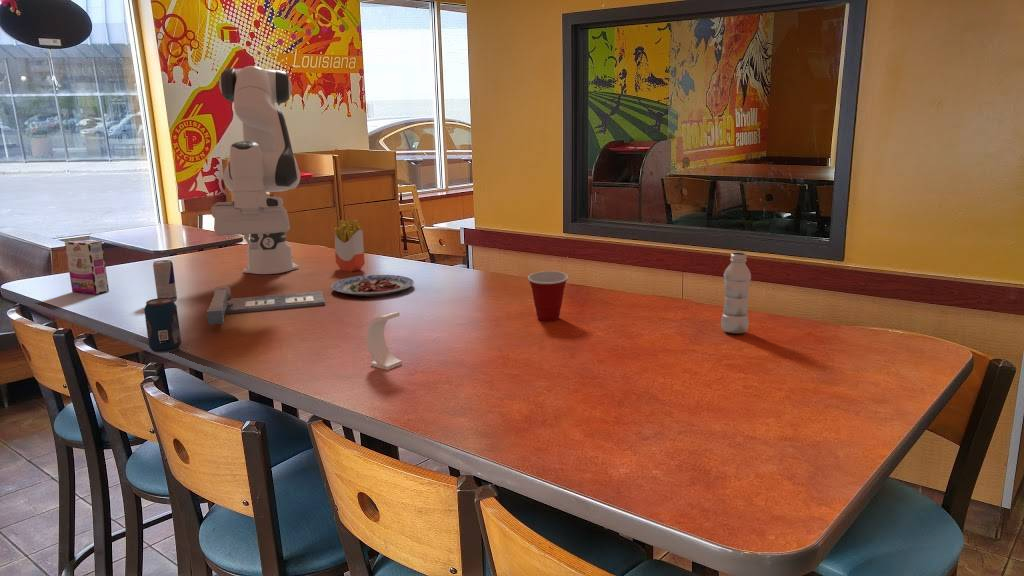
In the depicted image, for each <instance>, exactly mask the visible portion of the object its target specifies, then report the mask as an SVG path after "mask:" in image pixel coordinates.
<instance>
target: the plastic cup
mask: <svg viewBox="0 0 1024 576" xmlns="http://www.w3.org/2000/svg"><path fill="white" fill-rule="evenodd" d="M568 278H569V274H567V273H565V272H562V271H556V270H545V271H544V270H543V271H537V272H533V273H530V274H529V275H528V276H527V279H528V281H529V284H530V287H531V290H532V296H533V302H534V307H535V314H536V316H537V319H538V320H539V321H543V322H554V321H557V320H559V319H560V315H561V309H562V303H563V298H564V292H565V288H566V287H565V286H566V284H567V280H568Z"/></svg>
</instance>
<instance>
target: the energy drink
mask: <svg viewBox="0 0 1024 576" xmlns="http://www.w3.org/2000/svg"><path fill="white" fill-rule="evenodd" d="M172 261H173V260H171V259H161V260H156V261H153V264H152V267H153V268H152V269H153V274H154V283H155V291H156V299H157V298H172V299H173V302H175V301H176V300H177V299H178V296H177V295H178V294H177V287H176V280H175V278H176V277H175V272H174V271H175V270H174V263H173V262H172Z"/></svg>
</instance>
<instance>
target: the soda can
mask: <svg viewBox="0 0 1024 576" xmlns="http://www.w3.org/2000/svg"><path fill="white" fill-rule="evenodd" d="M177 307H178V306H177V304H176V303H175V301H173V299H172V298H157V297H156V298H153V299H149V300H147V301H145V307H144V309H143V310H144V317H145V326H146V332H147V333H146V335H147V340H148V347H149V348H150V349H151V351H152V352H153V353H155V354H165V353H166V354H167V353H171V352H174V351H177V350H179V348H180V346H181V345H182V337H181V330H180V322H179V315H178V308H177Z"/></svg>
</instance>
